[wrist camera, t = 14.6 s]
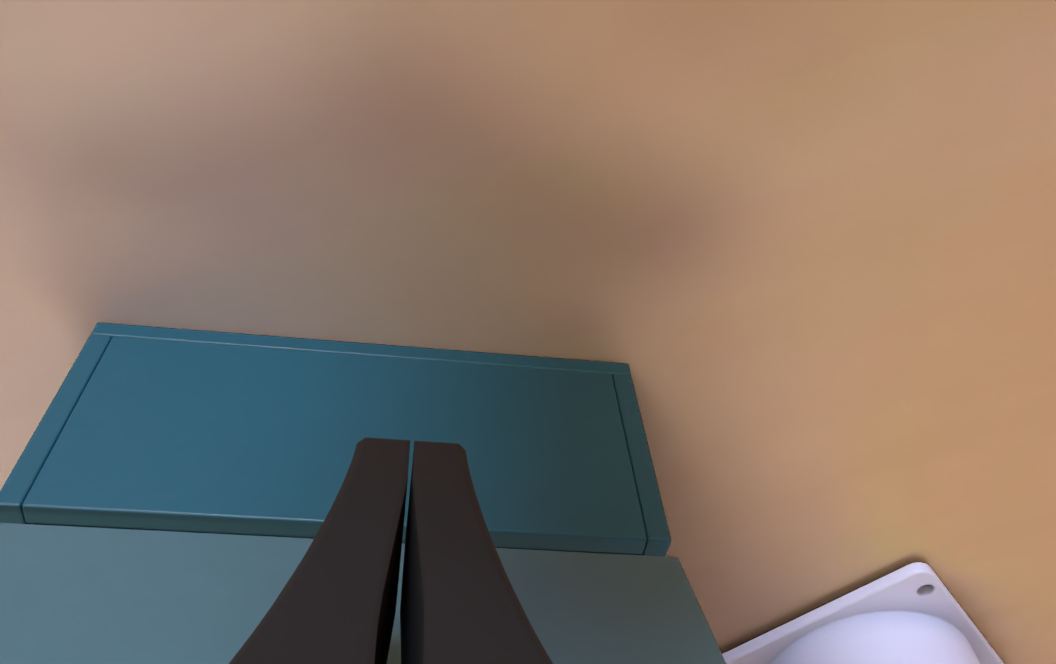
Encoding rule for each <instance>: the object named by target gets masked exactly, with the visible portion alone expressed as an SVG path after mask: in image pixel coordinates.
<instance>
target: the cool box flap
mask: <svg viewBox="0 0 1056 664" xmlns="http://www.w3.org/2000/svg"><path fill="white" fill-rule="evenodd" d="M313 540H314V539H310V538H290V537H271V536H251V535H232V534H212V533H192V532H173V531H153V530H134V529H114V528H94V527H75V526H55V525H36V524H16V523H0V664H229V663H230V661H231V660H232V659H233V657H234V656H235V655H236V654H237V652H238V651H239V650H240V648H241V647H242V646H243V644H244V643H245V642H246V641H247V639H248V638H249V637H250V635H251V634H252V633H253V631H254V630H255V629H256V627H257V626H258V625H259V623H260V622H261V620H262V619H263V618H264V616H265V615H266V613H267V612H268V611H269V609H270V608H271V606H272V605H273V603H274V602H275V600H276V599H277V597H278V596H279V594H280V593H281V591H282V590H283V588H284V586H285V585H286V583H287V582H288V580H289V579H290V577H291V576H292V574H293V573H294V571H295V570H296V568H297V566H298V565H299V563H300V562H301V560H302V559H303V557H304V555H305V554H306V552H307V550H308V549H309V547H310V545H311V543H312V541H313ZM404 549H405V543H402V549H401V560H400V571H399V582H398V593H397V604H396V613H395V619H394V625H393V631H392V637H391V642H390V648H389V654H388V660H387V664H401V637H400V604H401V590H402V576H403V563H404ZM496 550H497V553H498V555H499V558H500V560H501V562H502V565H503V567H504V570H505V572H506V574H507V576H508V578H509V581H510V583H511V585H512V587H513V589H514V592H515V594H516V596H517V598H518V600H519V602H520V604H521V606H522V608H523V610H524V612H525V614H526V616H527V618H528V620H529V622H530V623H531V625H532V627H533V629H534V631H535V633H536V635H537V636H538V638H539V640H540V642H541V644H542V645H543V647H544V649H545V651H546V653H547V654H548V656H549V658H550V659H551V661H552V663H553V664H726V662H725V660H724V657H723V655H722V653H721V651H720V649H719V646H718V644H717V642H716V640H715V638H714V635H713V633H712V631H711V629H710V627H709V625H708V622H707V620H706V618H705V616H704V614H703V611H702V609H701V607H700V605H699V603H698V601H697V598H696V596H695V594H694V592H693V590H692V587H691V585H690V583H689V581H688V579H687V577H686V574H685V572H684V570H683V568H682V566H681V563H680V561H679V559H678V558H677V557H663V556H643V555H624V554H604V553H584V552H565V551H545V550H526V549H506V548H496Z"/></svg>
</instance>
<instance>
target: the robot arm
mask: <svg viewBox="0 0 1056 664" xmlns="http://www.w3.org/2000/svg"><path fill="white" fill-rule="evenodd" d="M409 453H410V440H397V439H382V438H367V437H366V438H364V439H363V440H361V441H359V442H358V443H357V445H356V448H355V452H354V456H353V459H352V461H351V464H350V467H349V469H348V472H347V474H346V477H345V479H344V481H343V484H342V486H341V488H340V490H339V492H338V494H337V496H336V498H335V501H334V503H333V505H332V507H331V509H330V511H329V513H328V514H327V516H326V518H325V520H324V522H323V523H322V525H321V527H320V529H319V531H318V532H317V534H316V536H315V538H314V540H313V541H312V543H311V545H310V547H309V549H308V550H307V552H306V554H305V555H304V557H303V559H302V560H301V562H300V563H299V565H298V566H297V568H296V570H295V571H294V573H293V574H292V576H291V577H290V579H289V580H288V582H287V583H286V585H285V586H284V588H283V590H282V591H281V593H280V594H279V596H278V597H277V599H276V600H275V602H274V603H273V605H272V606H271V608H270V609H269V611H268V612H267V613H266V615H265V616H264V618H263V619H262V620H261V622H260V623H259V625H258V626H257V627H256V629H255V630H254V631H253V633H252V634H251V635H250V637H249V638H248V639H247V641H246V642H245V643H244V644H243V646H242V647H241V648H240V650H239V651H238V652H237V654H236V655H235V656H234V657H233V659H232V660H231V661H230V663H229V664H387V660H388V654H389V648H390V642H391V637H392V631H393V625H394V619H395V613H396V604H397V593H398V582H399V571H400V560H401V549H402V538H403V527H404V516H405V505H406V494H407V483H408V469H409ZM400 637H401V664H553V663H552V661H551V659H550V658H549V656H548V654H547V653H546V651H545V649H544V647H543V645H542V644H541V642H540V640H539V638H538V636H537V635H536V633H535V631H534V629H533V627H532V625H531V623H530V622H529V620H528V618H527V616H526V614H525V612H524V610H523V608H522V606H521V604H520V602H519V600H518V598H517V596H516V594H515V592H514V589H513V587H512V585H511V583H510V581H509V578H508V576H507V574H506V572H505V570H504V567H503V565H502V562H501V560H500V558H499V555H498V553H497V550H496V548H495V546H494V543H493V541H492V538H491V536H490V533H489V531H488V528H487V525H486V523H485V520H484V517H483V514H482V511H481V508H480V505H479V502H478V499H477V496H476V493H475V490H474V486H473V483H472V479H471V475H470V471H469V466H468V461H467V455H466V450H465V449H464V448H463V447H462V446H461V445H460V444H458V443H443V442H428V441H414V452H413V462H412V473H411V484H410V495H409V505H408V516H407V527H406V537H405V549H404V563H403V576H402V590H401V604H400ZM722 655H723V657H724V660H725V662H726V664H1004V663H1003V661H1002V660H1001V659H1000V657H999V656H998V655H997V653H996V652H995V651H994V649H993V648H992V647H991V646H990V644H989V643H988V642H987V640H986V639H985V638H984V636H983V635H982V634H981V632H980V631H979V630H978V629H977V627H976V626H975V625H974V623H973V622H972V621H971V619H970V618H969V617H968V616H967V614H966V613H965V612H964V610H963V609H962V608H961V606H960V605H959V604H958V602H957V601H956V600H955V599H954V597H953V596H952V595H951V593H950V592H949V591H948V589H947V588H946V587H945V586H944V584H943V583H942V582H941V580H940V579H939V578H938V576H937V575H936V574H935V572H934V571H933V570H932V569H931V567H930V566H929V565H927V564H926V563H921V562H916V563H911V564H908V565H906V566H904V567H902V568H900V569H898V570H896V571H894V572H892V573H890V574H887V575H885V576H883V577H881V578H879V579H877V580H875V581H873V582H871V583H869V584H867V585H865V586H862V587H860V588H858V589H856V590H854V591H852V592H850V593H848V594H846V595H844V596H842V597H840V598H838V599H835V600H833V601H831V602H829V603H827V604H825V605H823V606H821V607H819V608H817V609H815V610H813V611H810V612H808V613H806V614H804V615H802V616H800V617H798V618H796V619H794V620H792V621H790V622H788V623H785V624H783V625H781V626H779V627H777V628H775V629H773V630H771V631H769V632H767V633H765V634H763V635H760V636H758V637H756V638H754V639H752V640H750V641H748V642H746V643H744V644H742V645H740V646H738V647H736V648H733V649H731V650H729V651H727V652H725V653H723V654H722Z"/></svg>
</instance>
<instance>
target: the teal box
mask: <svg viewBox="0 0 1056 664" xmlns="http://www.w3.org/2000/svg"><path fill="white" fill-rule="evenodd" d="M366 437H367V438H382V439H397V440H410V453H409V469H408V483H407V494H406V505H405V516H404V527H403V538H402V543H405V537H406V527H407V516H408V505H409V495H410V484H411V473H412V462H413V452H414V441H428V442H443V443H458V444H460V445H461V446H462V447H463V448H464V449H465V450H466V455H467V461H468V466H469V471H470V475H471V479H472V483H473V486H474V490H475V493H476V496H477V499H478V502H479V505H480V508H481V511H482V514H483V517H484V520H485V523H486V525H487V528H488V531H489V533H490V536H491V538H492V541H493V543H494V546H495V548H506V549H526V550H545V551H565V552H584V553H604V554H624V555H643V556H663V557H666V555H667V552H668V549H669V546H670V543H671V537H670V533H669V528H668V524H667V520H666V516H665V512H664V508H663V504H662V500H661V496H660V492H659V487H658V483H657V479H656V475H655V471H654V467H653V463H652V459H651V455H650V451H649V446H648V442H647V438H646V434H645V430H644V426H643V422H642V418H641V414H640V410H639V405H638V401H637V397H636V393H635V389H634V385H633V381H632V377H631V373H630V369H629V365H628V364H625V363H612V362H599V361H586V360H573V359H560V358H547V357H534V356H521V355H509V354H496V353H483V352H470V351H457V350H444V349H431V348H418V347H405V346H392V345H380V344H367V343H354V342H341V341H328V340H315V339H302V338H289V337H276V336H263V335H251V334H238V333H225V332H212V331H199V330H186V329H173V328H160V327H147V326H134V325H122V324H109V323H97V324H96V326H95V328H94V330H93V331H92V333H91V335H90V337H89V338H88V340H87V342H86V344H85V345H84V347H83V349H82V350H81V352H80V354H79V356H78V357H77V359H76V361H75V363H74V364H73V366H72V368H71V370H70V371H69V373H68V375H67V376H66V378H65V380H64V382H63V383H62V385H61V387H60V389H59V390H58V392H57V394H56V396H55V397H54V399H53V401H52V403H51V404H50V406H49V408H48V409H47V411H46V413H45V415H44V416H43V418H42V420H41V422H40V423H39V425H38V427H37V429H36V430H35V432H34V434H33V435H32V437H31V439H30V441H29V442H28V444H27V446H26V448H25V449H24V451H23V453H22V455H21V456H20V458H19V460H18V462H17V463H16V465H15V467H14V468H13V470H12V472H11V474H10V475H9V477H8V479H7V481H6V482H5V484H4V486H3V488H2V489H1V491H0V523H16V524H36V525H55V526H75V527H94V528H114V529H134V530H153V531H173V532H192V533H212V534H232V535H251V536H271V537H290V538H310V539H314V538H315V536H316V534H317V532H318V531H319V529H320V527H321V525H322V523H323V522H324V520H325V518H326V516H327V514H328V513H329V511H330V509H331V507H332V505H333V503H334V501H335V498H336V496H337V494H338V492H339V490H340V488H341V486H342V484H343V481H344V479H345V477H346V474H347V472H348V469H349V467H350V464H351V461H352V459H353V456H354V452H355V448H356V445H357V443H358V442H359V441H361V440H363V439H364V438H366Z"/></svg>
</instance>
